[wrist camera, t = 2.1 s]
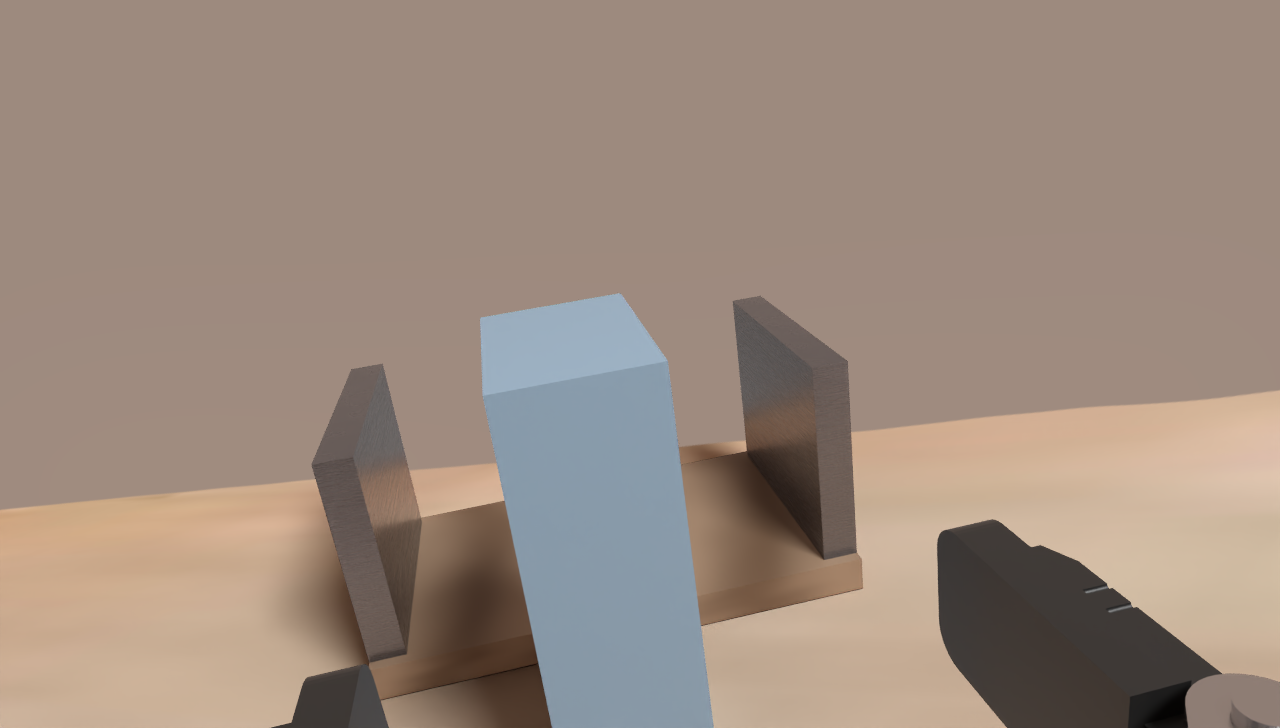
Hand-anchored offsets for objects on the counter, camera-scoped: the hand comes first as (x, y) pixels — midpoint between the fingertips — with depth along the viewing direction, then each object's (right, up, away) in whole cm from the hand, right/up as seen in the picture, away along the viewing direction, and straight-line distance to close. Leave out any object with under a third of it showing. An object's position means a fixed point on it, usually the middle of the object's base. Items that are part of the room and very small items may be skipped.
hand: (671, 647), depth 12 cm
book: (-1, -10, +17) cm, 20 cm away
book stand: (-2, -6, +30) cm, 30 cm away
